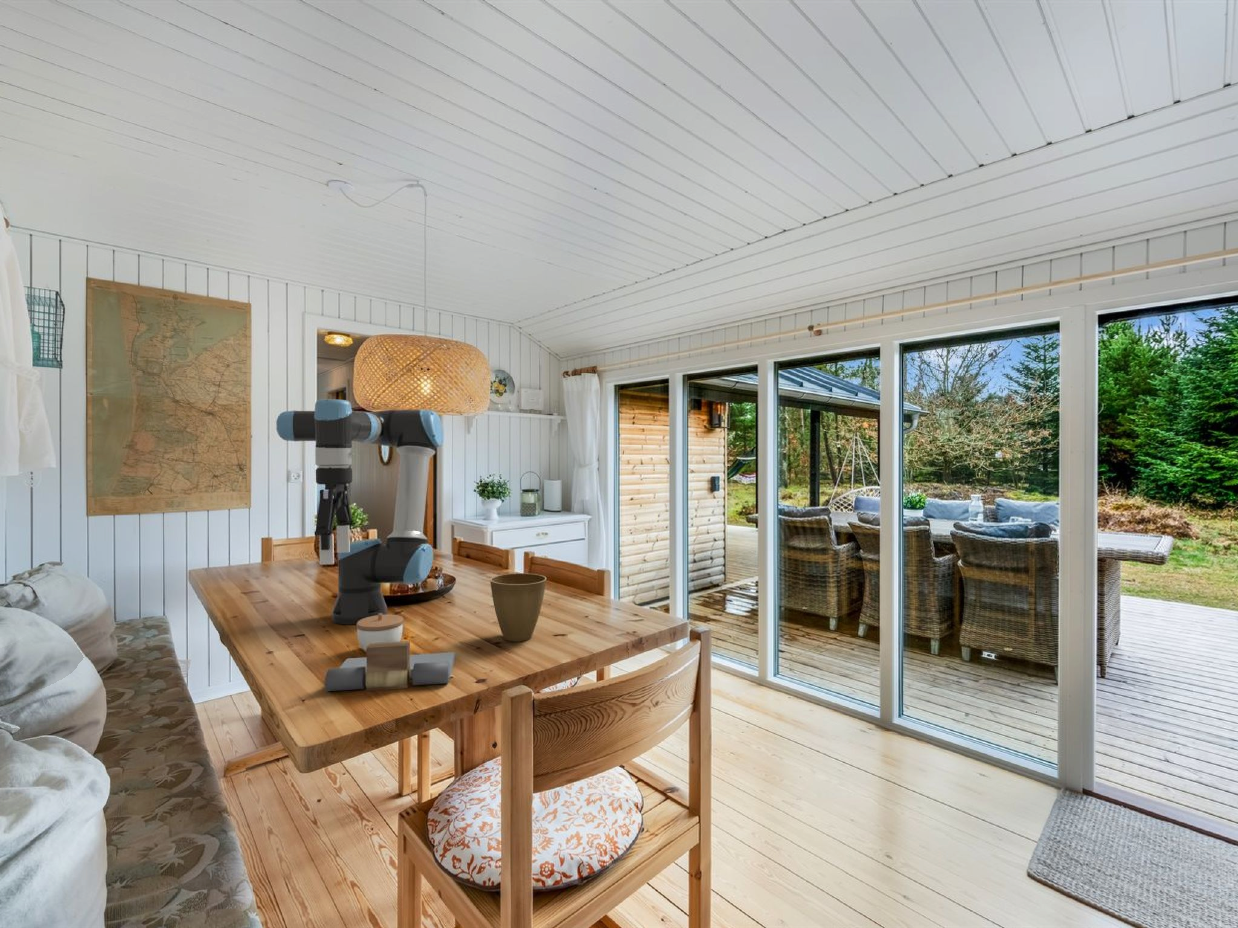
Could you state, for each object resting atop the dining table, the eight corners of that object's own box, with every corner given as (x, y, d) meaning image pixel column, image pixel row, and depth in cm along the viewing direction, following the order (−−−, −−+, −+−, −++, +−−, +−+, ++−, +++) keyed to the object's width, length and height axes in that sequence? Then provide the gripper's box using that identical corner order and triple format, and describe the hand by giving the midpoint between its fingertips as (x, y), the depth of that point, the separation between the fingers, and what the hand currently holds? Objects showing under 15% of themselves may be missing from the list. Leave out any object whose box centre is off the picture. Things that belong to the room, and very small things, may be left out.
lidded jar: (412, 648, 141) (412, 611, 141) (375, 661, 132) (375, 622, 132) (385, 641, 147) (385, 605, 146) (347, 653, 137) (347, 615, 137)
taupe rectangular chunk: (371, 683, 119) (371, 641, 119) (410, 681, 121) (410, 639, 121) (365, 692, 115) (365, 648, 115) (406, 689, 117) (406, 646, 116)
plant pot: (535, 648, 142) (535, 585, 141) (480, 644, 145) (480, 582, 144) (553, 630, 156) (553, 573, 156) (503, 627, 159) (503, 571, 159)
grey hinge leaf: (447, 686, 118) (447, 665, 118) (324, 694, 114) (324, 673, 114) (454, 660, 133) (454, 642, 133) (347, 667, 129) (346, 648, 128)
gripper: (336, 469, 117) (338, 568, 118) (364, 464, 142) (365, 547, 143) (297, 469, 116) (299, 570, 117) (332, 464, 140) (333, 548, 141)
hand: (335, 558), depth 130 cm, fingers open, 13 cm apart
